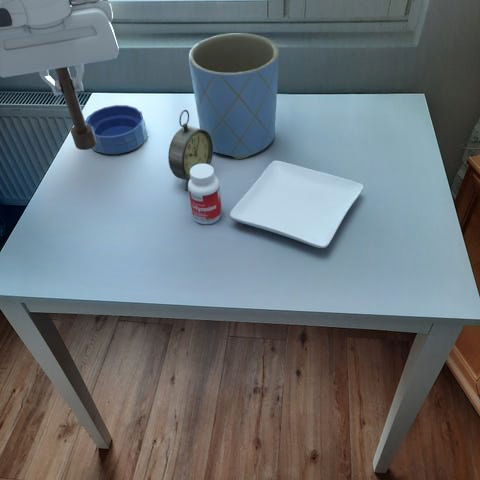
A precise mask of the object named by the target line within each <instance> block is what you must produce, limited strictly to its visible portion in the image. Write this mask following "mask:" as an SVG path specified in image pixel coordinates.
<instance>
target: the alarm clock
mask: <svg viewBox="0 0 480 480" xmlns="http://www.w3.org/2000/svg"><path fill="white" fill-rule="evenodd" d="M185 112H186V114H187V120H186V123H183V124H182V116H183V115H184V113H185ZM189 121H190V113H189V111H188V110H187V109H184V110H182V111H181V112H180V115H179V121H178V122H179V126H180V127H181V128H179V129H178V130H177V131H176V132H175V134H174V135H173V137H172V139H171V141H170V143H169V148H168V158H167V159H168V165H169V168H170V171H171V173H172V174H173V175H174V176H175V177H176V178H177V179H181V180H183V181H185V188H184V191H185V192H189V190H188V182H189V180H190V169H191V168H192V167H193V166H195V165H197V164H209V165H211V164H212V161H213V157H214V156H213V155H214V151H213V144H212V139H211V137H210V135H209V133H208V132H207V131H206V130H204V129H200V127H196V126H190V125H188V124H189Z"/></svg>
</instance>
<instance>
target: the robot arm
mask: <svg viewBox="0 0 480 480" xmlns="http://www.w3.org/2000/svg"><path fill="white" fill-rule="evenodd" d="M113 13H114V12H113V9H112V4H111V2H110V1H109V0H0V78H4V79H5V78H10V77H15V76H21V75H28V74H33V73H38V74H39V77H40V79H41V80H42V81H44V82H45V83H46V84H47V85H48V86H49V87H50V88H51V90H52V93H53V96H54V97H56V96H60V95H63V92H62V90H61V86H60V84H59V81H58V80H54V78H52V77H51V76H50V74H49V71H51V70H55V69H57V68H63V67H68V68H69V67H74V69H75V72H76V76H75V77H71V78H72V83H73V86H74V90H75V92H76V93H78V92H84V85H83V82H82V81H83V77H84V73H85V67H84V65H87V64H92V63H98V62H104V61H111V60H115V59H117V57H118V56H119V53H120V48H119V45H118V42H117V38H116V35H115V32H114V29H113V26H112V22H113V20H114V14H113Z"/></svg>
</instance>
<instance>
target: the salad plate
mask: <svg viewBox="0 0 480 480" xmlns="http://www.w3.org/2000/svg"><path fill="white" fill-rule="evenodd" d="M363 190H364V184H362V183H360V182H357V181H354V180H351V179H348V178H344V177H341V176H337V175H333V174H330V173H326V172H322V171H320V170H319V171H318V170H315V169H311V168H308V167H304V166H300V165H296V164H294V163H289V162H286V161H281V160H272V161H271V162H270V164H269V165H267V167H266V168H265V169H264V171H263V172H262V173H261V174H260V175H259V177H257V179H256V181H255V182H254V183H253V184H252V185H251V187H250V188H249V189H248V190H247V191H246V193H245V194H244V195H243V196H242V197H241V199H239V200H238V202H237V203H236V204H235V206H234V207H233V208H231V210H230V213H229V217H230V218H231V219H232V220H234V221H235V222H237V223H240V224H243V225H248V226H252V227H255V228H258V229H261V230H264V231H268V232H271V233H275V234H278V235H281V236H283V237H287V238H288V239H293V240H295V241H298V242H300V243H304V244H306V245H308V246H312V247H315V248H319V249H324V248H327V247H328V246H329V245H330V243H331V242H332V240H333V238H334V236H335V235H336V233H337V231H338V229H339V227H340V225H341V223H342V222H343V220H344V218H345V217H346V215H347V213H348V212H349V211H350V209H351V207H352V206H353V205H354V203H355V202H356V201H357V199H358V198H359V196H360V195H361V194H362V192H363Z"/></svg>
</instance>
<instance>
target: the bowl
mask: <svg viewBox="0 0 480 480" xmlns="http://www.w3.org/2000/svg"><path fill="white" fill-rule="evenodd" d="M85 123H86V124H89V125H91V126H92V129H93V132H94V135H95V138H96V142H97V143H96V145H95V146H94V147H93V148H92V149H93V150H94V151H95V152H98V153H101V154H103V155H119V154H125V153H128V152H131V151H133V150H134V149H137V148H139V147H140V146H141V145H143V144H144V143H145V142H146V140H147V137H148V129H147V126H146V121H145V117H144V113H143V112H142V111H141V110H140V109H138V108H137V107H135V106H131V105H129V104H128V105H127V104H115V105H109V106H104V107H102V108H100V109H96V110H94V111H93V112H92V113H91V114H89V115H88V116H87V117H86V118H85Z"/></svg>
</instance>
